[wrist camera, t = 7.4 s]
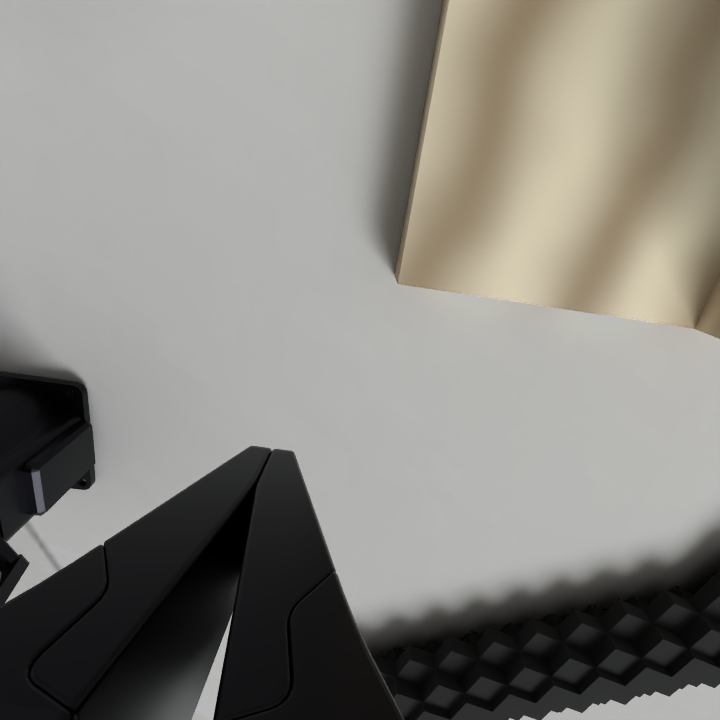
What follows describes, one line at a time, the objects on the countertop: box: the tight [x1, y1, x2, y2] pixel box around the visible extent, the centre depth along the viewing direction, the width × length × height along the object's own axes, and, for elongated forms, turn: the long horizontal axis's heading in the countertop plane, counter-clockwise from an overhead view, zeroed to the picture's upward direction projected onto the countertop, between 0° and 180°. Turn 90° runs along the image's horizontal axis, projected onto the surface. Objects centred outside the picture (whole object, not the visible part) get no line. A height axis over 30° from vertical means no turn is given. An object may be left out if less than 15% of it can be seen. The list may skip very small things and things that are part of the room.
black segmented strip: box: [371, 571, 720, 720], centre depth 27 cm, size 11×40×4 cm, turn 108°
